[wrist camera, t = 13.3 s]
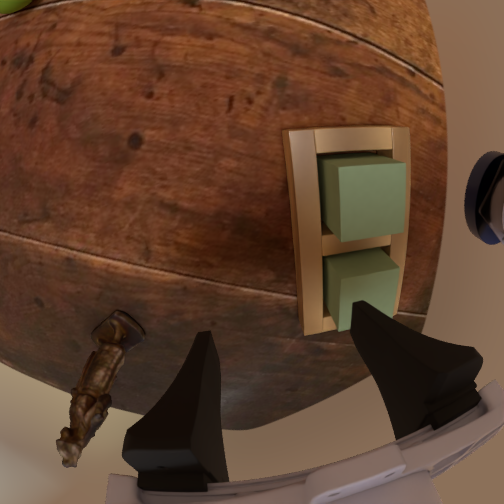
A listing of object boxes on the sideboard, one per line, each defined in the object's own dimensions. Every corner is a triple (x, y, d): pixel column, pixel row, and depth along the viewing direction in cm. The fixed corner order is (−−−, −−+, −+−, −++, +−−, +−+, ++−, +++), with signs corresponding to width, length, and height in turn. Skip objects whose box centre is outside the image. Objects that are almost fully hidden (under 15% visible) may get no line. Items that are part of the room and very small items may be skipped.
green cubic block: (370, 152, 19) (406, 162, 15) (372, 209, 21) (404, 232, 17) (313, 156, 19) (338, 166, 15) (318, 216, 21) (340, 243, 17)
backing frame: (392, 125, 18) (409, 127, 16) (385, 299, 25) (396, 314, 23) (281, 129, 18) (288, 130, 16) (298, 317, 25) (304, 335, 23)
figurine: (129, 298, 23) (69, 450, 10) (160, 325, 25) (125, 479, 11) (88, 333, 25) (35, 456, 11) (116, 355, 26) (77, 480, 13)
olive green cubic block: (371, 239, 22) (400, 267, 18) (368, 285, 24) (392, 318, 20) (319, 247, 22) (340, 279, 18) (320, 294, 24) (338, 331, 20)
